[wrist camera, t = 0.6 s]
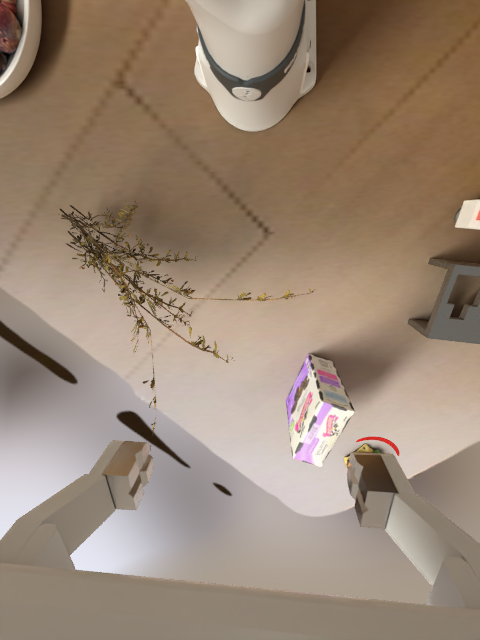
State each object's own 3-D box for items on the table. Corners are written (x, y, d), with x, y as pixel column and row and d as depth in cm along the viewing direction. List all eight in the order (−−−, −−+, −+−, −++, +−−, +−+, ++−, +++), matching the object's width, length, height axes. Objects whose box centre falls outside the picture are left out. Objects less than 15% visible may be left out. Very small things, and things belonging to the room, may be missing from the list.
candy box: (308, 352, 58) (323, 400, 43) (333, 360, 58) (357, 411, 43) (284, 401, 63) (290, 459, 48) (308, 408, 63) (321, 469, 48)
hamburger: (367, 484, 71) (376, 507, 66) (329, 457, 69) (334, 478, 63) (411, 456, 66) (424, 478, 61) (372, 426, 64) (382, 446, 58)
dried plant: (-59, 271, 39) (131, 526, 27) (13, 50, 31) (333, 270, 19) (111, 287, 68) (242, 415, 55) (172, 173, 59) (342, 293, 47)
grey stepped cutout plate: (430, 258, 49) (455, 264, 43) (515, 266, 48) (554, 274, 42) (407, 323, 54) (427, 338, 47) (485, 332, 53) (515, 348, 47)
